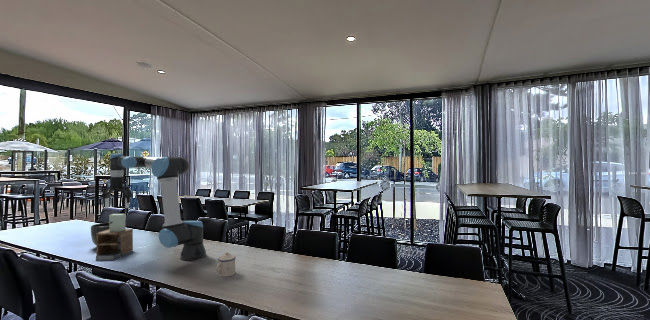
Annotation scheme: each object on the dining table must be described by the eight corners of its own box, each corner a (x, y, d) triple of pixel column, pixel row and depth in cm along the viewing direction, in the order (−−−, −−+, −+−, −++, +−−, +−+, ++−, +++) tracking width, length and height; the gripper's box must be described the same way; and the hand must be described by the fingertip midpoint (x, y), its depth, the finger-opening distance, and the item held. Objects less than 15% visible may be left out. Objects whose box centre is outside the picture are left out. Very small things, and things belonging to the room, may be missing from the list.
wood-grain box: (132, 250, 207) (132, 228, 207) (120, 256, 195) (120, 233, 195) (109, 250, 207) (109, 229, 207) (96, 256, 195) (96, 233, 195)
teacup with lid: (227, 269, 168) (226, 249, 168) (239, 272, 164) (239, 251, 164) (210, 277, 157) (209, 255, 157) (222, 280, 153) (222, 257, 153)
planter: (84, 248, 213) (84, 226, 213) (108, 242, 229) (108, 221, 229) (102, 250, 208) (102, 227, 208) (125, 243, 224) (125, 222, 224)
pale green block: (125, 229, 204) (125, 213, 204) (120, 231, 199) (120, 215, 199) (113, 230, 204) (113, 213, 204) (108, 231, 199) (108, 215, 199)
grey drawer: (123, 255, 195) (123, 237, 195) (113, 260, 187) (113, 240, 187) (106, 256, 195) (106, 237, 195) (96, 260, 187) (95, 240, 187)
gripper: (138, 176, 206) (138, 206, 206) (102, 176, 206) (103, 207, 206) (131, 176, 198) (131, 208, 198) (94, 176, 199) (94, 208, 199)
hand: (117, 207), depth 202 cm, fingers open, 13 cm apart
